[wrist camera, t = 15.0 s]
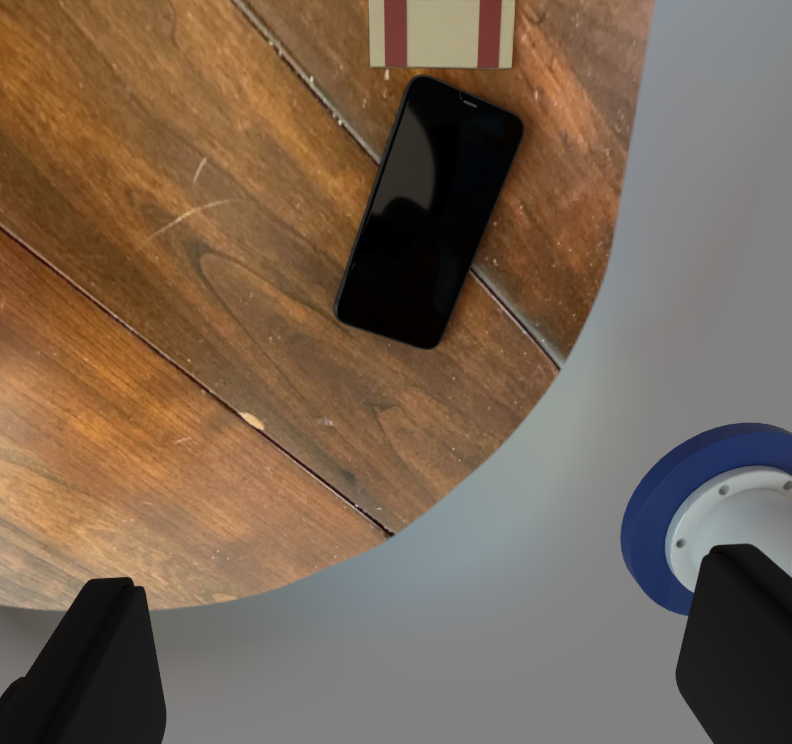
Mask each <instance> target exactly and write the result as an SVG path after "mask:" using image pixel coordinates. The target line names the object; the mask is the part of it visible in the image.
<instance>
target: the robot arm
mask: <svg viewBox="0 0 792 744" xmlns="http://www.w3.org/2000/svg"><path fill="white" fill-rule="evenodd" d="M665 555H666V560H667V564H668V566H669V568H670V570H671V572H672V573H673V574H674V575H675V577H676V578H677V579H678V580H679V581H680V583H681V584H683V585H684V586H685V587H686V588H687V589H688V590H690V591H692V592H693V593H694V595H693V599H692V603H691V607H690V612H689V616H688V621H687V625H686V629H685V633H684V638H683V642H682V646H681V650H680V655H679V659H678V663H677V668H676V682H677V685H678V688H679V691H680V693H681V695H682V696H683V698H684V699H685V701H686V703H687V704H688V706H689V707H690V709H691V710H692V712H693V713H694V714H695V716H696V718H697V719H698V721H699V722H700V724H701V725H702V727H703V728H704V730H705V731H706V733H707V734H708V736H709V737H710V739H711V740H712V742H713V743H714V744H792V476H791V475H790V474H788V473H787V472H785V471H783V470H780V469H777V468H774V467H770V466H761V465H756V466H744V467H740V468H736V469H732V470H729V471H727V472H724V473H722V474H719V475H717V476H715V477H714V478H712V479H710V480H708V481H707V482H705V483H703V484H702V485H701V486H700V487H698V488H697V489H696V490H695V491H693V492H692V493H691V494H690V495H689V496H688V498H687V499H686V500H685V501H684V502H683V503H682V504H681V506H680V507H679V509H678V510H677V512H676V513H675V515H674V516H673V518H672V521H671V523H670V525H669V527H668V531H667V535H666V539H665ZM165 727H166V706H165V701H164V695H163V690H162V683H161V678H160V672H159V667H158V661H157V655H156V649H155V644H154V638H153V632H152V627H151V621H150V616H149V610H148V604H147V598H146V593H145V589H144V588H143V587H142V586H134V583H133V581H132V579H131V578H129V577H120V578H101V579H91V580H89V581H88V582H87V583H86V584H85V585H84V586H83V588H82V589H81V591H80V593H79V594H78V596H77V597H76V599H75V600H74V602H73V603H72V605H71V606H70V608H69V609H68V611H67V613H66V614H65V616H64V617H63V619H62V620H61V622H60V623H59V625H58V626H57V628H56V630H55V631H54V633H53V634H52V636H51V637H50V639H49V640H48V642H47V643H46V645H45V647H44V648H43V650H42V651H41V653H40V654H39V656H38V658H37V659H36V660H35V662H34V664H33V665H32V667H31V668H30V670H29V671H28V673H27V674H26V676H25V677H20V678H19V679H17V680H16V681H14V682H13V683H12V684H11V685H10V686H9V687H8V688H7V690H6V691H5V692H4V693H3V695H2V696H1V698H0V744H161V743H162V740H163V736H164V732H165Z"/></svg>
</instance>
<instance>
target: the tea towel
mask: <svg viewBox="0 0 792 744" xmlns="http://www.w3.org/2000/svg"><path fill="white" fill-rule="evenodd" d="M514 16H515V0H369V40H370V67H371V68H452V69H510V68H512V52H513V34H514Z"/></svg>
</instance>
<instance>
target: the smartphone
mask: <svg viewBox="0 0 792 744" xmlns="http://www.w3.org/2000/svg"><path fill="white" fill-rule="evenodd" d="M523 136H524V123H523V121H522V119H521V118H520V117H519V116H518V115H517V114H515V113H514V112H511V111H509V110H507V109H505V108H503V107H500V106H498V105H496V104H494V103H491V102H489V101H487V100H485V99H482V98H480V97H478V96H475V95H473V94H471V93H469V92H466V91H464V90H462V89H460V88H457V87H455V86H453V85H450V84H448V83H446V82H444V81H441V80H439V79H437V78H434V77H432V76H429V75H425V74H421V75H417V76H415V77H413V78H412V79H411V80H410V82H409V83H408V85H407V87H406V89H405V92H404V95H403V98H402V101H401V104H400V107H399V108H398V111H397V114H396V119H395V122H394V125H393V127H392V129H391V132H390V135H389V138H388V141H387V146H386V149H385V150H384V153H383V156H382V159H381V162H380V167H379V170H378V173H377V176H376V179H375V182H374V185H373V188H372V191H371V194H370V197H369V200H368V203H367V206H366V209H365V212H364V215H363V218H362V221H361V224H360V227H359V230H358V233H357V236H356V239H355V242H354V245H353V248H352V251H351V254H350V257H349V260H348V263H347V266H346V269H345V272H344V275H343V278H342V281H341V284H340V287H339V290H338V293H337V296H336V299H335V303H334V315H335V317H336V318H337V320H338V321H340V322H341V323H343V324H345V325H348V326H351V327H354V328H357V329H360V330H363V331H366V332H369V333H373V334H376V335H379V336H382V337H385V338H388V339H391V340H394V341H397V342H400V343H403V344H407V345H410V346H413V347H416V348H419V349H423V350H431V349H433V348H435V347H437V346H438V345H439V343H440V342H441V340H442V338H443V336H444V333H445V331H446V328H447V326H448V323H449V321H450V318H451V316H452V313H453V311H454V308H455V306H456V303H457V301H458V298H459V296H460V293H461V291H462V288H463V286H464V283H465V281H466V278H467V276H468V274H469V271H470V269H471V266H472V264H473V261H474V259H475V256H476V254H477V251H478V249H479V246H480V244H481V241H482V239H483V236H484V234H485V231H486V229H487V226H488V224H489V221H490V219H491V216H492V214H493V211H494V209H495V206H496V205H497V203H498V200H499V198H500V195H501V193H502V190H503V188H504V185H505V183H506V179H507V177H508V174H509V172H510V169H511V167H512V164H513V162H514V159H515V157H516V154H517V152H518V149H519V147H520V144H521V142H522V139H523Z"/></svg>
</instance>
